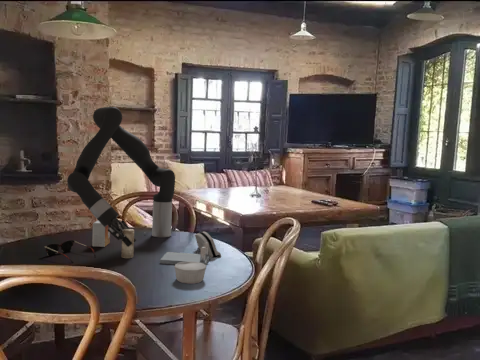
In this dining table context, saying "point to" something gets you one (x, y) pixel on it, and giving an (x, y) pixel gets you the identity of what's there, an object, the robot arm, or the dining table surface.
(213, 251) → the grey half-round upright piece
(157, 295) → the dining table surface
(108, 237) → the small box
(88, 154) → the robot arm
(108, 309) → the dining table surface
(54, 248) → the sunglasses
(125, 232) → the birch pin
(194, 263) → the ramekin
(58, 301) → the dining table surface
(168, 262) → the pad
